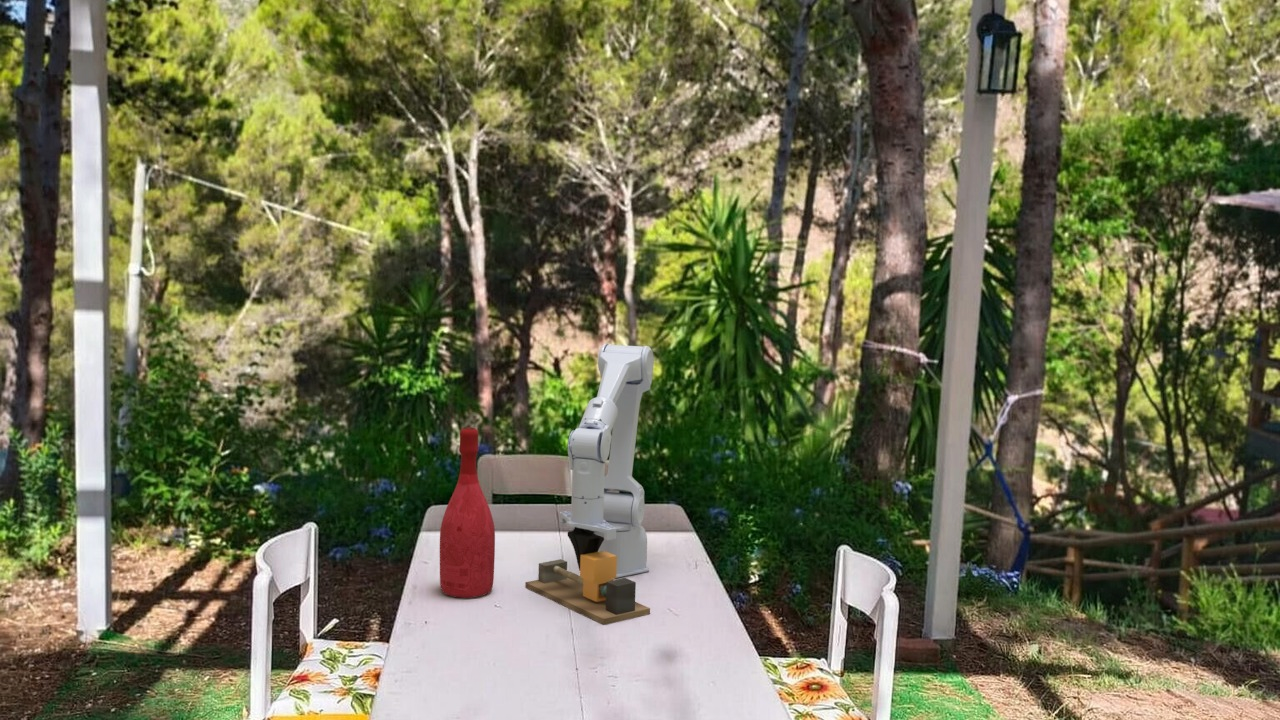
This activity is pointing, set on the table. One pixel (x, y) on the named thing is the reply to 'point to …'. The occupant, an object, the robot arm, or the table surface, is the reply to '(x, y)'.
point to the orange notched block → (597, 572)
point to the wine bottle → (467, 530)
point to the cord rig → (570, 594)
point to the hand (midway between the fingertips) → (585, 570)
